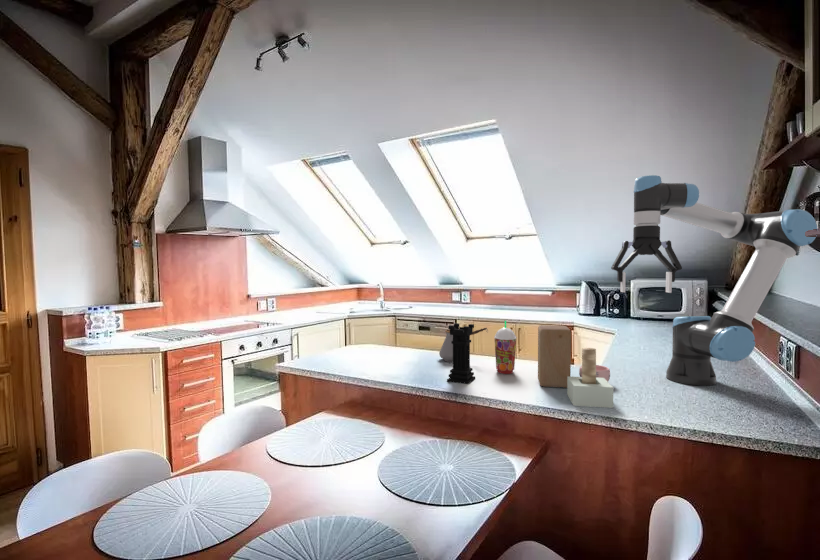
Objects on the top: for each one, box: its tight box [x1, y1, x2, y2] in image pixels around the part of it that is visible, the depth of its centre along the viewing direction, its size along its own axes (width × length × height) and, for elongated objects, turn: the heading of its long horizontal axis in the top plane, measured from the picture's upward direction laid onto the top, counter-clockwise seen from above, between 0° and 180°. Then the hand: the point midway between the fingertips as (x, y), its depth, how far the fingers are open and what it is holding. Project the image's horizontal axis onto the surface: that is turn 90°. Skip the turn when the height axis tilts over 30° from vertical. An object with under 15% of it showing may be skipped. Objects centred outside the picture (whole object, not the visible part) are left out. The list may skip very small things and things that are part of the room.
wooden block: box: [537, 324, 572, 389], centre depth 156 cm, size 10×10×20 cm
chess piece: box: [446, 322, 476, 385], centre depth 161 cm, size 8×8×20 cm
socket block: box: [566, 375, 614, 409], centre depth 137 cm, size 11×11×6 cm
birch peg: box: [581, 347, 597, 384], centre depth 137 cm, size 4×4×15 cm
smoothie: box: [494, 320, 517, 375], centre depth 172 cm, size 8×8×20 cm
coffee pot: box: [439, 327, 489, 363], centre depth 192 cm, size 21×12×15 cm, turn 66°
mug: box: [578, 364, 611, 382], centre depth 157 cm, size 12×10×6 cm
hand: (645, 292), depth 143 cm, fingers open, 13 cm apart
